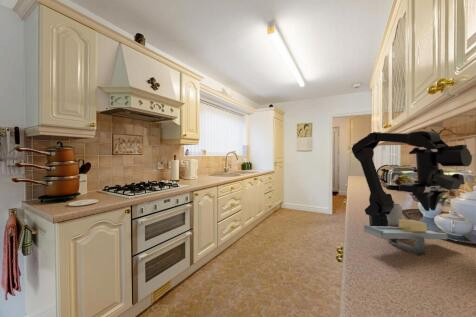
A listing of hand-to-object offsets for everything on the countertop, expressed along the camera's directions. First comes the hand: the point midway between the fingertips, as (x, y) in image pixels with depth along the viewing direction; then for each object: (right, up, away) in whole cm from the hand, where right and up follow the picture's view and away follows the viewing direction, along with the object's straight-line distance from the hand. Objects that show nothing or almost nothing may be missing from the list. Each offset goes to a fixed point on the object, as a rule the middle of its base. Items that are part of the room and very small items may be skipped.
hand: (430, 210), depth 72 cm
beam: (-10, -8, -2) cm, 13 cm away
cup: (+6, -12, +25) cm, 29 cm away
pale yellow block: (-8, -7, -1) cm, 10 cm away
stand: (-10, -12, -2) cm, 16 cm away
